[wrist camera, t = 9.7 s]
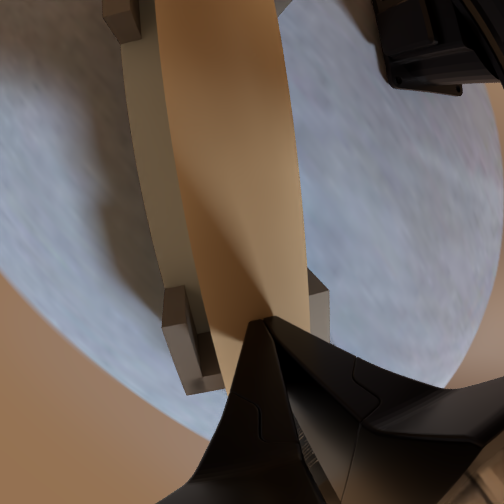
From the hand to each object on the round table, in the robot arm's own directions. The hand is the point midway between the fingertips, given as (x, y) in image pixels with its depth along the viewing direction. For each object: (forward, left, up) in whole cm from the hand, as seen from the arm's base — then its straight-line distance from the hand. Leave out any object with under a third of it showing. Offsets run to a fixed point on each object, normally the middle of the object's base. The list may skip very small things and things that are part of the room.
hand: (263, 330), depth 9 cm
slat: (0, -5, -6) cm, 8 cm away
